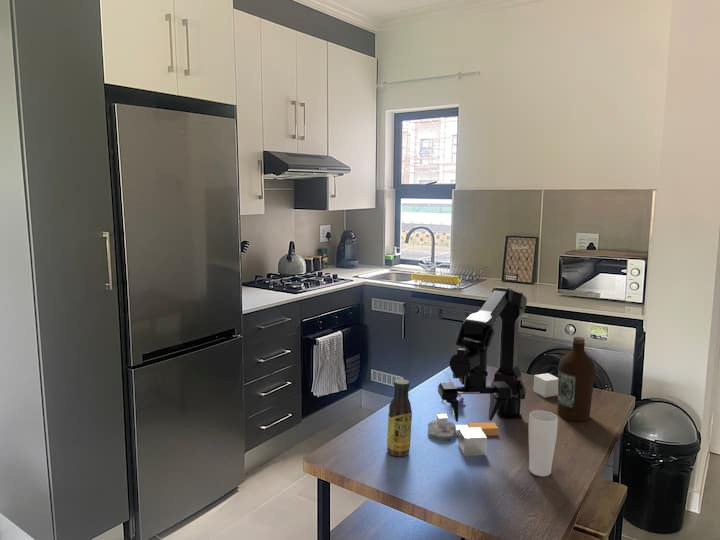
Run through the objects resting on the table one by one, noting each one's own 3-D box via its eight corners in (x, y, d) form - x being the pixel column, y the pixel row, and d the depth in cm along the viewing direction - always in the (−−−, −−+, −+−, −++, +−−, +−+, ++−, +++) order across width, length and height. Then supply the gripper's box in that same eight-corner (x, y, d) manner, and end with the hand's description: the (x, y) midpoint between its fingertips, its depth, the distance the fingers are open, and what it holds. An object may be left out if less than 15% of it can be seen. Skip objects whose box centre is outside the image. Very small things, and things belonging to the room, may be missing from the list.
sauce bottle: (394, 460, 139) (395, 387, 136) (382, 449, 145) (383, 379, 141) (415, 454, 142) (417, 383, 139) (402, 444, 148) (404, 375, 144)
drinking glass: (553, 467, 136) (557, 412, 134) (554, 481, 130) (558, 423, 127) (526, 462, 138) (529, 408, 136) (525, 476, 132) (528, 419, 130)
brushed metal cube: (479, 444, 148) (480, 427, 147) (486, 455, 142) (486, 437, 141) (458, 444, 148) (458, 427, 147) (463, 455, 142) (464, 438, 141)
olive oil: (573, 406, 174) (579, 332, 170) (599, 419, 164) (606, 341, 160) (547, 411, 170) (553, 335, 166) (572, 425, 160) (579, 345, 156)
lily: (458, 416, 169) (473, 389, 168) (426, 395, 173) (441, 369, 173) (463, 412, 180) (477, 388, 180) (433, 393, 184) (447, 369, 184)
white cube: (547, 389, 189) (548, 373, 188) (558, 395, 183) (560, 378, 182) (533, 391, 187) (534, 374, 186) (544, 397, 181) (545, 380, 180)
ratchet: (491, 426, 159) (492, 409, 158) (500, 438, 151) (501, 420, 151) (425, 427, 158) (425, 410, 157) (430, 440, 150) (431, 422, 149)
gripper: (500, 354, 150) (497, 407, 152) (434, 356, 148) (432, 409, 151) (514, 368, 139) (511, 424, 141) (443, 369, 137) (441, 426, 140)
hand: (473, 420), depth 144 cm, fingers open, 9 cm apart
